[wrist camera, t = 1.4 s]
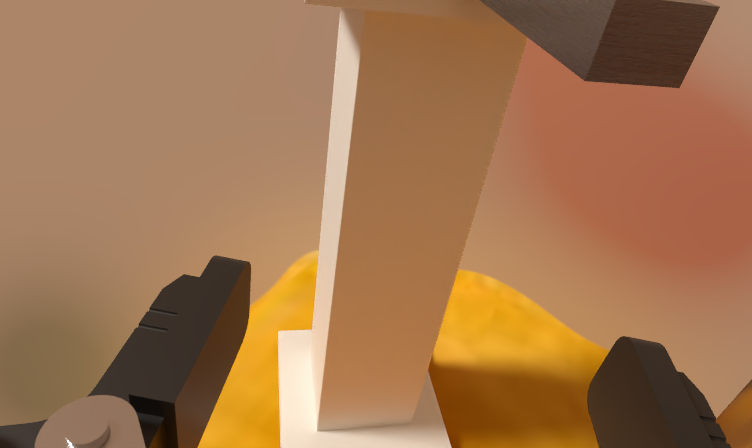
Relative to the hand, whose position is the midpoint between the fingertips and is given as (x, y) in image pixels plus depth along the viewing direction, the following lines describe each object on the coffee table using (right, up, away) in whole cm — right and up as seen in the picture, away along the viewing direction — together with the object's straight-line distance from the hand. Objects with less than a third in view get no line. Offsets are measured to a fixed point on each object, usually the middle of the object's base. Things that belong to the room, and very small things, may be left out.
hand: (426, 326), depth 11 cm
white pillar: (-3, -12, +30) cm, 32 cm away
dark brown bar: (+2, +12, +8) cm, 14 cm away
